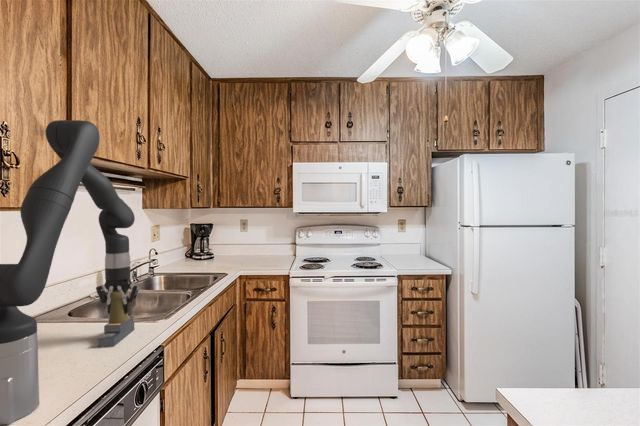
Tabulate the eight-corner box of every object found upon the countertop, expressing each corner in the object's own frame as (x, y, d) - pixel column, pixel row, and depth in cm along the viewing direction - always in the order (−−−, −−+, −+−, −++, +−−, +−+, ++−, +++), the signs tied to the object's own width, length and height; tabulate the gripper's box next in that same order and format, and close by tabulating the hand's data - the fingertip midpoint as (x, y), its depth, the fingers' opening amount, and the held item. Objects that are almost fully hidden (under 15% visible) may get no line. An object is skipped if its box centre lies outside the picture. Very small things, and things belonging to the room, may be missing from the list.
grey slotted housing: (114, 346, 107) (113, 329, 107) (97, 347, 107) (97, 330, 106) (134, 329, 121) (134, 315, 121) (120, 330, 121) (119, 315, 120)
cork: (131, 320, 115) (130, 289, 115) (111, 325, 111) (111, 292, 110) (125, 316, 119) (124, 286, 119) (106, 320, 115) (105, 289, 114)
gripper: (89, 267, 110) (90, 318, 111) (134, 267, 111) (135, 317, 112) (102, 263, 117) (103, 311, 118) (144, 263, 119) (144, 310, 119)
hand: (118, 314), depth 115 cm, fingers closed on cork, 4 cm apart
